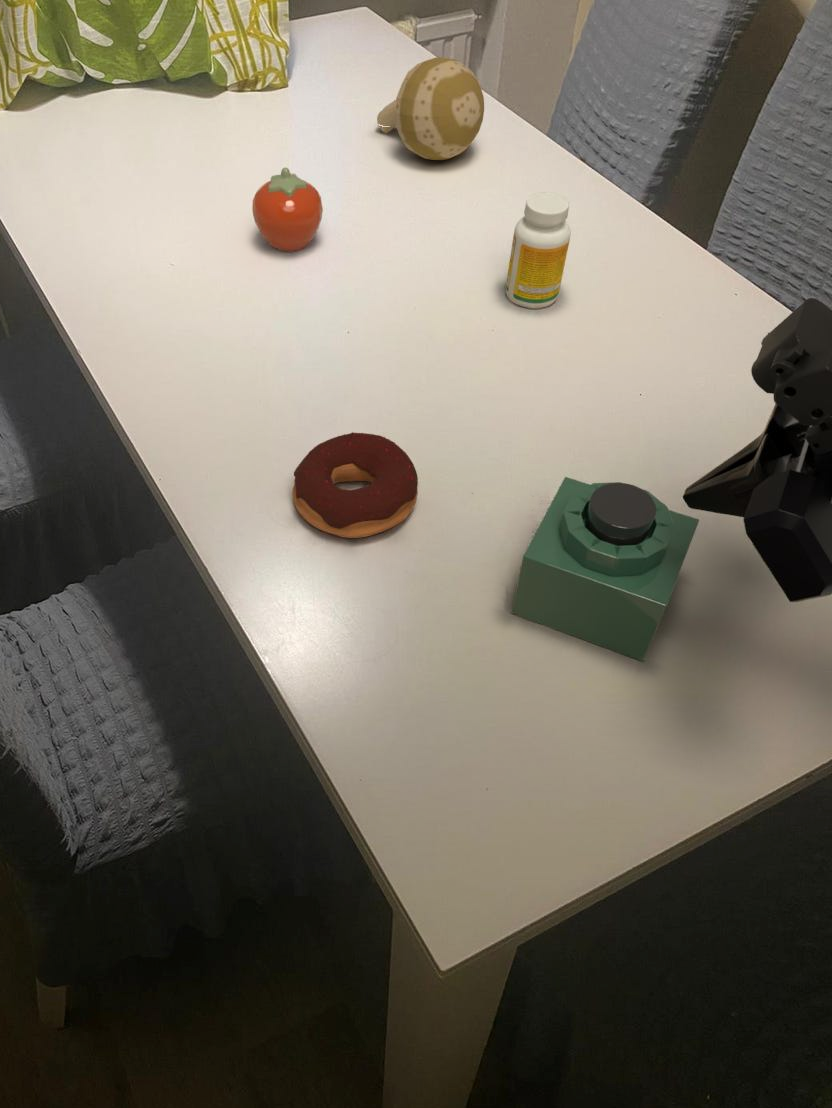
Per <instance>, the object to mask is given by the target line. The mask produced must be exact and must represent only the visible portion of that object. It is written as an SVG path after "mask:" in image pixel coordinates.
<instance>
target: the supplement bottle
mask: <svg viewBox="0 0 832 1108" xmlns="http://www.w3.org/2000/svg"><path fill="white" fill-rule="evenodd" d="M569 210H570V201H569V200H568V199H567V198H566V197H565V196H564V195H561V194H558V193H555V192H549V191H548V192H547V191H546V192H545V191H544V192H537V193H533V194H531V195H530V196H528V197H527V199H526V202H525V206H524V210H523V211H524V212H523V215H524V216H522V217H521V218H520V219H519V220H518V221H517V222H516V224H515V227H514V232H513V237H512V241H511V242H512V243H511V250H510V255H509V263H508V269H507V276H506V284H505V294H506V296H507V298H508V299H509V300H510V301H511V302H512V303H514V304H515V305H518V306H520V307H524V308H527V309H542V308H546V307H549V306H551V305H552V304H554V303H555V302H556V300H557V299H558V298H559V294H560V289H561V285H562V279H563V274H564V270H565V265H566V259H567V256H568V255H567V254H568V250H569V246H570V241H571V236H572V235H571V227H570V224H568V222H567V221H566V220H567V219H568V216H569Z"/></svg>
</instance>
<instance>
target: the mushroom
mask: <svg viewBox="0 0 832 1108" xmlns="http://www.w3.org/2000/svg"><path fill="white" fill-rule="evenodd" d="M481 86H482V85H481V84H480V81H479V80H478V78H477V77H476V75H475V73H474V72H473V71H472V70H471V69H470V68H469V67H467V65H466V64H464V63H462V62H461V61H459V60H457V59H453V58H449V57H441V56H440V57H438V56H437V57H433V58H430V59H427V60H424V61H421V62H419V63H417V64H416V65H415V66H413V67H412V68H411V69H409V70H408V71H407V73H406V75H405V77H404V78H403V81H402V83H401V85H400V87H399V89H398V92H397V95H396V98H395V99H394V100H393V101H391V102H390V103H388V104H387V105H385V106H384V107H383V108H382V109H381V110H380V111H379V112H378V114H377V116H376V123H377V126H378V128H379V129H380V130H381V132H383V133H390V132H391V131H392V130H393V129H395V128H396V130H397V132H398V135H399V138H400V140H401V141H402V143H403V144H404V146H405V147H406V149H408V150H409V151H411V152H412V153H414V154H416V155H417V156H419V157H421V158H423V159H425V160H429V161H430V160H431V161H432V160H433V161H444V160H445V161H446V160H449V159H451V158H453V157H455V156H458V155H460V154H462V153H463V152H464V151H465V150H466V149H467V148H469V146H471V144H472V143H473V142H474V140H475V139H476V137H477V135H478V134H479V132H480V130H481V127H482V124H483V120H484V113H485V98H484V94H483V89H482V87H481ZM378 124H380V125H383V126H390V127H382V126H379V125H378ZM394 126H395V127H394ZM425 157H426V158H425Z"/></svg>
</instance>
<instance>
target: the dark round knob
mask: <svg viewBox="0 0 832 1108" xmlns="http://www.w3.org/2000/svg"><path fill="white" fill-rule="evenodd" d="M608 483H609V482H608ZM642 489H643V488H641V487H638V486H637V485H634V484H631V483H626V482H622V483H621V482H620V483H609V484H605V485H603V486H601V487H599V488H597V489H596V490H595V491H594V492H593V494H592V495H591V498H590V502H589V505H588V509H587V513H586V517H585V522H586V526H587V528H588V530H589V531H590V532H591V533H592V534H593V535H594V536H595V537H597V538H598V539H599V540H602V541H605V542H608V543H611V544H614V545H617V546H624V545H635V544H638V543H640V542H642V541H643V540H644V539H645V538H646V537H647V536H648V534H649V532H650V529H651V526H652V524H653V521H654V518H655V515H656V504H655V502H654V500H653V498H652V497H651V496H650V495H649V494H648V493H647V492H645V491H644V490H645V489H644V490H642Z"/></svg>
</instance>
